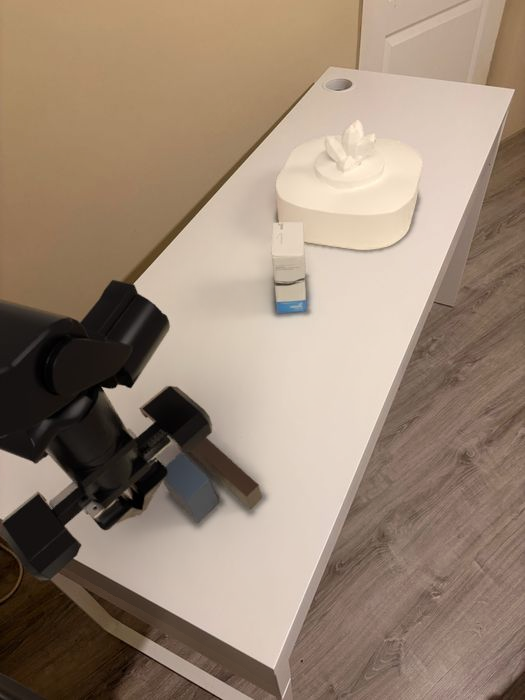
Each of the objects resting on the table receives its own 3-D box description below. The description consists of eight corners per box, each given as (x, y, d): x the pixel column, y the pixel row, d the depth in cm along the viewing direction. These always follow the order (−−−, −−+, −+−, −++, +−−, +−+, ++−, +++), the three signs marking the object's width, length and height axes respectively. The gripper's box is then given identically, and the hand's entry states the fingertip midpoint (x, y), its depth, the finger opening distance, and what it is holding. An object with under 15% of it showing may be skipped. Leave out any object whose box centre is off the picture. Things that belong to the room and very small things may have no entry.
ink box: (307, 312, 80) (305, 256, 70) (276, 314, 80) (270, 258, 71) (305, 276, 85) (303, 219, 76) (276, 278, 85) (271, 221, 76)
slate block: (209, 520, 61) (168, 533, 55) (183, 494, 64) (141, 503, 57) (235, 473, 60) (196, 481, 54) (208, 448, 63) (168, 453, 56)
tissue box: (303, 164, 107) (301, 87, 95) (422, 177, 100) (436, 95, 88) (266, 236, 93) (257, 156, 80) (401, 256, 86) (415, 172, 73)
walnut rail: (250, 510, 60) (246, 496, 57) (187, 450, 66) (180, 435, 63) (261, 498, 61) (258, 484, 58) (198, 440, 67) (192, 425, 64)
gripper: (120, 313, 46) (162, 405, 58) (-76, 452, 38) (19, 524, 50) (199, 377, 40) (227, 463, 52) (-11, 553, 33) (78, 606, 45)
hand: (140, 508), depth 50 cm, fingers closed
